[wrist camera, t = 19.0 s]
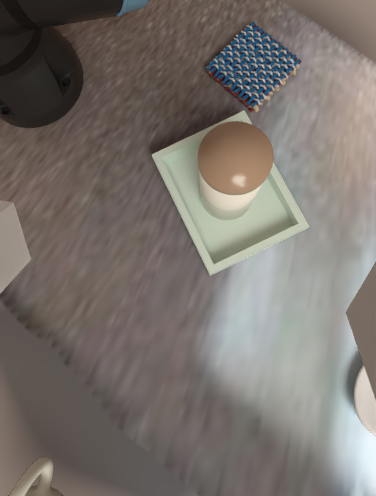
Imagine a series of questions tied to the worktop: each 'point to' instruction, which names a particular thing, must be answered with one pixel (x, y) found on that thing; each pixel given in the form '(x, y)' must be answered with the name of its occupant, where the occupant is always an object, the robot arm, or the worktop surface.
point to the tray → (227, 231)
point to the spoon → (365, 401)
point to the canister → (232, 168)
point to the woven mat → (242, 60)
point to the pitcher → (43, 492)
